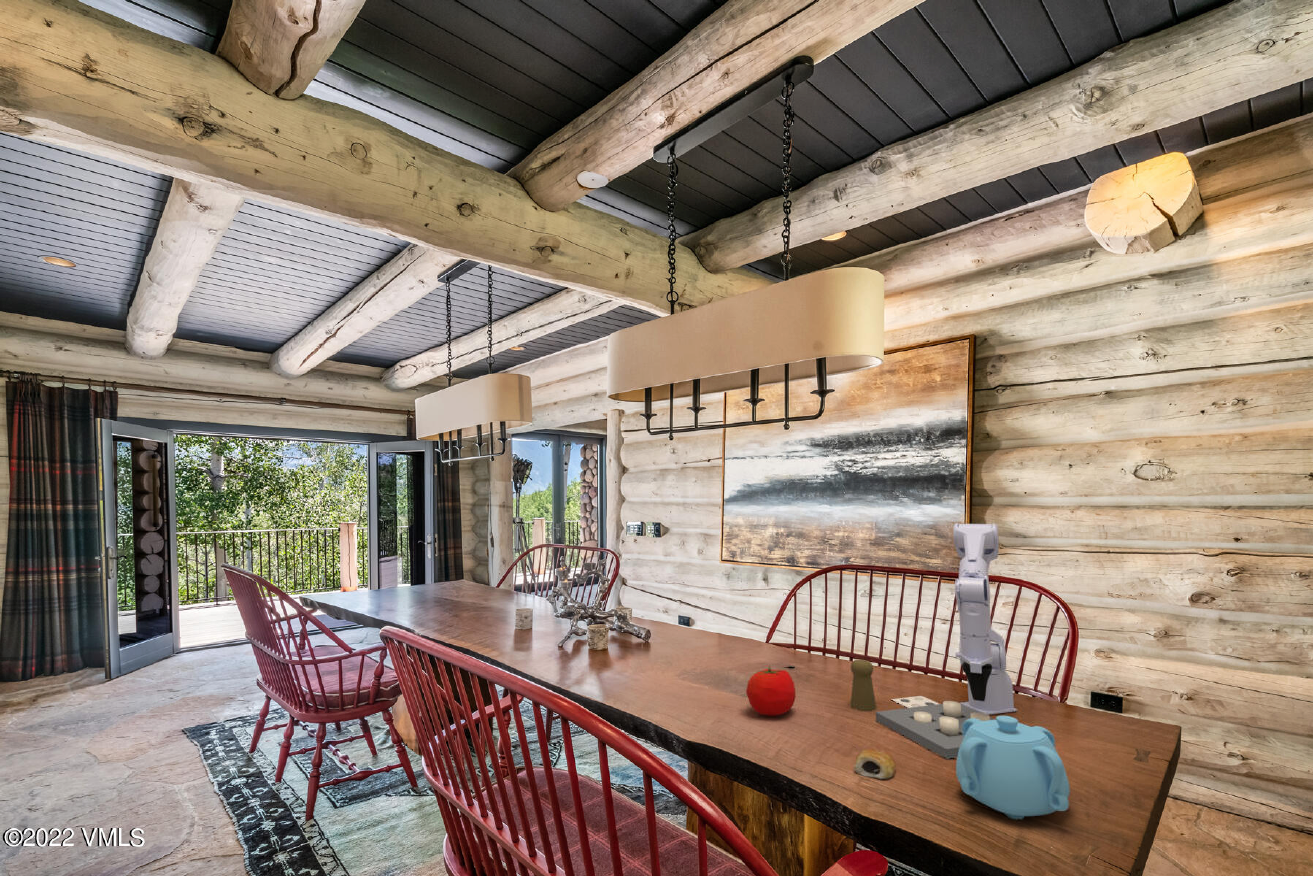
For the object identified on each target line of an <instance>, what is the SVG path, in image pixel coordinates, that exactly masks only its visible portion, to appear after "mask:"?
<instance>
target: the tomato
mask: <svg viewBox="0 0 1313 876" xmlns="http://www.w3.org/2000/svg"><path fill="white" fill-rule="evenodd" d="M745 693H746V695H747V699H748V702H749V705H750V706H751V708H752V709H753V710H754V712H756V713H758V714H759V715H763V716H771V717H776V716H780V715H783V714H787V712H789V711H790V710H792V707H793V706H794V704H795V700H796V687H795V681H794V680H793V678H792V676H791V675H790V673H789V672H788V671H786V670H785V669H771V666H770V665H768V668H765V669H763V670H760V671H758V672H755V673H753V675H751V677H750V678H749V680H748V682H747V686H746V691H745Z"/></svg>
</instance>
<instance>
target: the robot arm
mask: <svg viewBox="0 0 1313 876" xmlns="http://www.w3.org/2000/svg"><path fill="white" fill-rule="evenodd" d="M952 529H953V534H952V535H953V543H954V546H955V552H956V554H957V557H958V558H960V562H959V569H958V579H957V578H955V581H954V592H955V599H956V605H957V612H958V613H959V634H960V635H959V644H958V645H959V646H958V647H959V648H958V651H959V652H955V657H956V658H957V659H958V658H959V664H960V665H961V668H962V671H963V672H964V674H965V676H966V679H967V694H968V697H967V698H968V701H964V702H963V701H962V702H959V703H960V704H961V705H963V706H965V707H968V708H970V709H972V710H975V711H977V712H980V713H984V714H987V715H989V716H990V715H996V714H1003V713H1004V714H1006V713H1010V712H1011V713H1012V712H1017V711H1018V709H1017V708H1015V706H1014V705H1015V704H1014V703H1015V701H1014V691H1013V690H1014V689H1013V687H1014V686H1013V681H1012V678H1011V677H1010V675H1009V673H1008V672H1007V671H1006V669H1007V657H1006V656H1007V653H1006V646H1005V639H1004V638H1003V636H1002V635H1000V634H999V633H998V632H997V631H996V630H994V629H993V628H992V623H991V622H992V621H991V619H992V618H991V589H990V588H991V587H990V581H989V568H990V565H991V561H994V560H997V559H998V558H999V554H1000V553H999V552H1000V551H999V550H1000V549H999V547H1000V543H999V541H1000V540H999V528H998V525H997V524H996V523H958V522H955V524H954V525H953V528H952Z"/></svg>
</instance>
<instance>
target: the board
mask: <svg viewBox="0 0 1313 876" xmlns="http://www.w3.org/2000/svg"><path fill="white" fill-rule="evenodd" d="M914 712H927V713H929V714H931V717H932V722H928V723H920V722H918V721H916V720H914ZM974 712H977V711H975V710H972V709H970V708H968V707H965V706H963V705H961V716H962V718H958V722H959V735H958V736H951V737H948V736H946V735H944V734H942V733H940V721H939V718H940V717H943V716H944V710H943V703H939V704H936V705H928V706H920V707H912V708H906V707H904V708H898V709H889V710H880V711H875V721H876V722H877V723H879V722H880V723H879V724H881V725H882V724H883V725H882V726H884V725H885V726H884V727H886V726H887V727H886V728H888V727H889V728H888V729H889V730H891V729H892V730H891V731H893V730H894V731H893V732H895V731H896V733H897V734H899V733H900V734H899V735H900V736H902V735H904V736H905V737H904V736H903V737H904V738H906V737H907V738H906V739H908V738H909V739H908V740H910V739H911V740H910V741H912V742H913V741H915V742H916V743H915V742H914V743H915V744H917V743H919V744H920V745H919V744H918V745H919V746H921V745H922V746H921V747H923V746H924V747H926V748H927V749H926V748H925V749H926V750H928V749H930V750H931V751H930V750H929V751H930V752H932V751H933V752H932V753H934V752H935V753H937V754H939V755H941V756H942V757H941V756H940V757H941V758H943V757H945V758H946V759H950V758H955V757H957V756H958V752H959V748H960V746H961V743H962V741H963V739H964V737H963V733H962V725H963V723H964V721H966V720H967V719H971V715H970V714H971V713H974ZM978 713H980V712H978ZM990 720H996V718H994V717H991V716H990ZM924 747H923V748H924ZM935 753H934V754H935ZM937 754H936V755H937ZM939 755H938V756H939ZM945 758H944V759H945ZM946 759H945V760H946ZM950 760H951V759H950Z"/></svg>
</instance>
